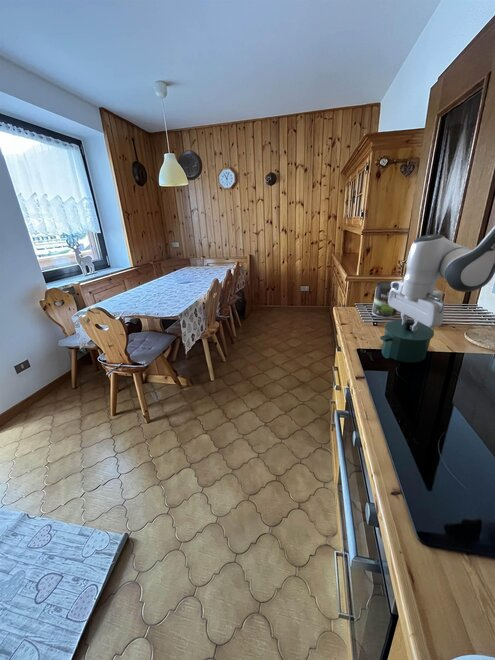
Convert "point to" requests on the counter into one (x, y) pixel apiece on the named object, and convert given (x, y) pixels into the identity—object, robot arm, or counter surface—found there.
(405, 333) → the lid
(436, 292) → the salt shaker
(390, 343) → the pot
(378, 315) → the coffee can
